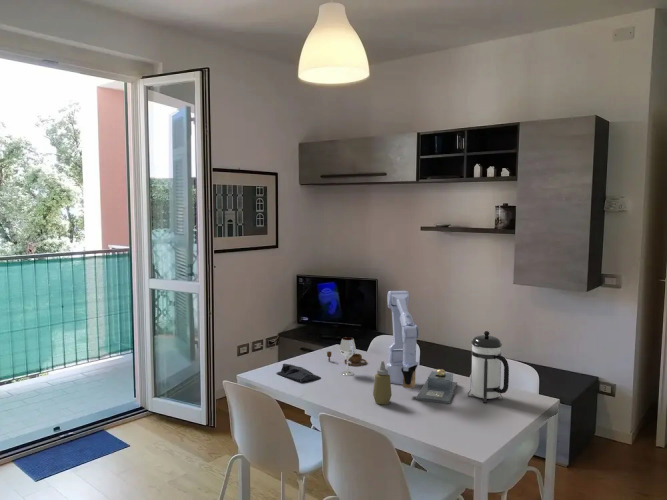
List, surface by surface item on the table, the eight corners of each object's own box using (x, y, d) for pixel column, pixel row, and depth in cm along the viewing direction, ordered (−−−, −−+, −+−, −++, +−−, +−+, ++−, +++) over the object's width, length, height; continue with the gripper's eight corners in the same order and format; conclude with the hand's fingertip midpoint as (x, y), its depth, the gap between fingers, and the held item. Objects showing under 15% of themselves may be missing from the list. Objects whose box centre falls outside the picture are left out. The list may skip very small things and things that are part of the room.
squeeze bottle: (379, 407, 210) (379, 365, 208) (369, 400, 217) (369, 360, 216) (395, 404, 214) (395, 362, 212) (384, 397, 221) (385, 357, 219)
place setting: (354, 370, 262) (354, 359, 261) (324, 362, 274) (325, 352, 274) (373, 362, 275) (373, 351, 275) (344, 356, 288) (344, 345, 287)
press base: (416, 399, 219) (416, 387, 218) (427, 381, 243) (427, 370, 243) (448, 404, 214) (449, 392, 213) (457, 384, 238) (457, 374, 238)
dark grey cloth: (297, 385, 237) (297, 376, 237) (274, 374, 255) (274, 364, 254) (323, 379, 246) (323, 370, 246) (299, 368, 264) (299, 359, 263)
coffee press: (465, 402, 216) (467, 333, 214) (469, 390, 231) (471, 326, 229) (507, 407, 210) (509, 337, 208) (509, 395, 225) (511, 329, 223)
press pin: (436, 377, 235) (436, 370, 234) (437, 375, 238) (437, 368, 238) (443, 378, 233) (444, 371, 233) (445, 376, 237) (445, 369, 236)
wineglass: (358, 372, 255) (358, 338, 254) (350, 377, 248) (350, 341, 247) (344, 370, 259) (344, 336, 258) (336, 374, 253) (336, 339, 251)
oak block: (403, 387, 222) (403, 372, 221) (405, 383, 226) (405, 369, 225) (413, 388, 220) (413, 374, 219) (415, 385, 224) (415, 371, 224)
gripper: (415, 357, 214) (414, 388, 215) (421, 349, 227) (421, 378, 228) (398, 356, 216) (398, 386, 217) (406, 347, 230) (406, 376, 231)
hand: (409, 382), depth 223 cm, fingers closed on oak block, 4 cm apart
